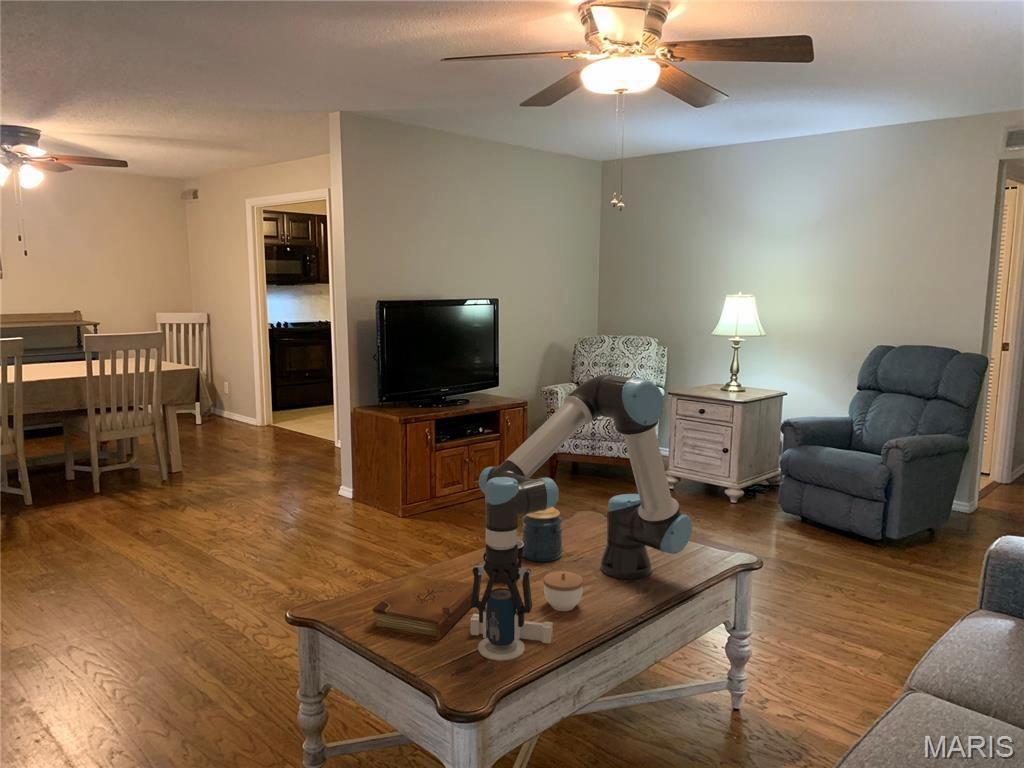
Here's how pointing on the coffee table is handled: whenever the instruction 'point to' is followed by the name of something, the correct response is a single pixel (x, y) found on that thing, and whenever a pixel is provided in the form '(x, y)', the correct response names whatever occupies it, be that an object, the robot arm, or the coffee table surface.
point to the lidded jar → (563, 589)
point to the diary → (424, 607)
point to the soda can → (500, 617)
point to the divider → (521, 630)
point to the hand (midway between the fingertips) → (501, 636)
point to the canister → (542, 535)
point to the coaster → (500, 650)
